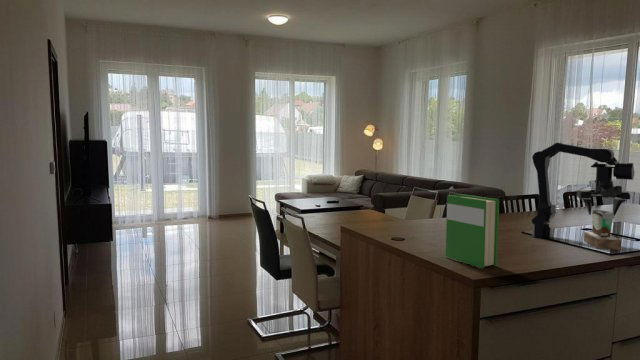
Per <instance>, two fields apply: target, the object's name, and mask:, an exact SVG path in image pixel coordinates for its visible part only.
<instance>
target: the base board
mask: <svg viewBox="0 0 640 360" xmlns="http://www.w3.org/2000/svg"><path fill="white" fill-rule="evenodd" d="M583 242H584V243H586V242H587V243H586V244H588V245H589V244H590V246H591V247H593V248H594V247H595V248H594V249H596V250H610V251H611V250H612V251H613V250H614V251H621V249H622V240H621V239H620V238H618V237H616V236H614V235H611V234H610V237H599V236H597V235H596V234H594V233H592V231H584V233H583Z"/></svg>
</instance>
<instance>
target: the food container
mask: <svg viewBox="0 0 640 360" xmlns="http://www.w3.org/2000/svg"><path fill="white" fill-rule="evenodd" d="M591 215H592V223H591V224H592V225H591V226H592V227H591V228H592V231H591V232H592V233H594V234H596V235H597V236H599V237H610V235H611V232H612V226H613V225H612V224H613V219H615V216H614V214H613V211H609V210H602V209H593V210H591Z"/></svg>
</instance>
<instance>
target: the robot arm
mask: <svg viewBox="0 0 640 360" xmlns="http://www.w3.org/2000/svg"><path fill="white" fill-rule="evenodd" d="M560 152H561V153H565V154H570V155H575V156H581V157H586V158H589V159H591V160H594V161H595V162H594V163H593V164H592V165H590V167H591V168H596V169H595V170H596V173H595V180H594V183H595V189H594V192H592V191H590V190H578V191H576V197H577V198H579V200H582V201H583V203H584V206H585V208H586V210H587V213H588V215H589V216H591V215H592V201H593V199H592V198H591V197H593V198H605V199H608V198H612V200H613V201H612V202H613V203H612V212H613V214H614V217H615V216H616V215H617V212H618V211H619V208H620V207H621V205H622V204H623V203H624V202H627V200H631V193H630V192H628V191H625V190H623V187H622V186H621V185H615V186H614V183H613V182H614V181H612V180H613V177H614V178H615V179H616V180H629V181H631V180H632V181H634V178H635V167H634V163H633V162H628V163H621V162H619V161H618V160H617V158H616V157H615V152H614V151H613V150H612V149H610V148H589V147H584V146H579V145H573V144H572V145H571V144H565V143H563V142H554V144H552V145H551V146H549V147H546V148H544V149H543V150H540V151H536V152H534V154H533V155H532V162H533V163H532V164H533V166H534V168H535V171H536V174H537V175H536V176H537V185H538V186H537V187H538V188H537V189H538V198H539V199H538V200H539V202H538V207H537V211H536V213H537V214H536V215H535V216H534V217H533V218H532V219H531V223H532V233H531V236H532V237H533V238H536V239H537V238H540V239H550V238H551V227H550V224H549V223H550V222H551V221H552V220H553V219H555V216H556V214H557V211H556V204H552V201H551V195H550V182H549V167H550V162H551V158H553V157H554V156H556V155H557V154H559V153H560Z"/></svg>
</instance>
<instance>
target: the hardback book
mask: <svg viewBox="0 0 640 360" xmlns="http://www.w3.org/2000/svg"><path fill="white" fill-rule="evenodd" d="M446 196H447V197H446V232H445V234H446V235H445V257H446V256H447V257H450V258H453V259H456V260H459V261H462V262H465V263H468V264H471V265H474V266H478V267H481V268H484V269H485V267H490V266H491V265H494V266H497V267H498V254H499V253H498V252H499V222H500V221H499V220H500V199H499V198H491V197H484V196H483V197H482V196H478V195H470V194H449V195H446ZM494 266H493V267H494Z"/></svg>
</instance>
